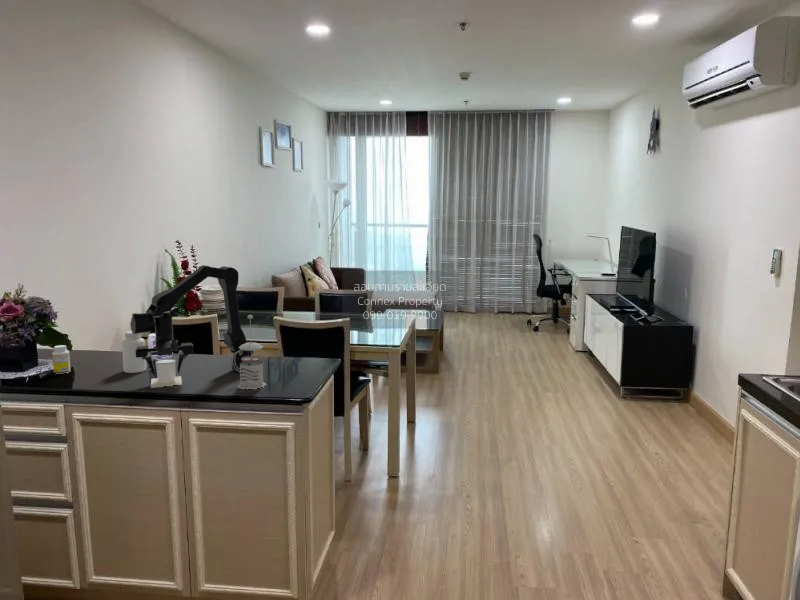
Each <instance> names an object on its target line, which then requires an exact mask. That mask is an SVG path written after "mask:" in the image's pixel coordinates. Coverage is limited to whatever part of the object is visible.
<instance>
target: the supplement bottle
mask: <svg viewBox="0 0 800 600" xmlns="http://www.w3.org/2000/svg"><path fill="white" fill-rule="evenodd" d="M53 347H54V348H53V352H52V353H51V356H52V357H51V358H52V367H53V368H52V369H53V370H52V371H53V374H54V373H56V374H63V373H67V374H69V372H70V373H71V359H70V350H68V349H67V345H66V344H65V345H64V344H63V345H62V344H59V345H55V346H53ZM56 374H55V375H56ZM63 375H64V374H63Z"/></svg>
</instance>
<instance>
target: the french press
mask: <svg viewBox="0 0 800 600" xmlns="http://www.w3.org/2000/svg"><path fill="white" fill-rule="evenodd" d="M247 319H249V327H250V329H249V330H250V331H249V332H250V336H252V321H251V319H254V316H253V315H252V314H249V315H247ZM239 348H240V350H239V351H237V352H236V353H235V354H234V353H233V354H234V355H235V356H236V354H237V353H238V352H239V354H240V351H241V354H242V350H245V351H251V356H247V357H243V358H241V361H243V362H242V365H241V363H240V371H239V372H238V373H239V381H240V383H239V384H238V385H237V387H238V389H240V390H244V389H247V390H248V389H254V390H258V389H257V388H260V389H262V388H261V387H263V388H265V387H264V386H265V385H266V386H267V383H265V382H264V362H263V361H262V359H263V357H261V356H259V355H257V356H256V355H253V354H252V351H253V352H254V351H260V350H262V349H264V345H262V344H260V343H258V342H252V341H250V342H247V343H245V344H243V345H241V346H240V347H239ZM233 354H232V357H231V358H232V359H231V364H232V363H233V357H234V355H233ZM241 354H240V355H241ZM234 362H235V357H234ZM248 364H251V365H250V366H247V365H248ZM235 365H236V363H235ZM233 366H234V364H233ZM236 367H237V365H236ZM234 368H235V367H234ZM237 368H238V367H237ZM241 368H242V370H241ZM235 369H236V368H235ZM238 369H239V368H238ZM247 369H248V370H247ZM236 370H237V369H236ZM237 371H238V370H237ZM248 391H249V390H248Z"/></svg>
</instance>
